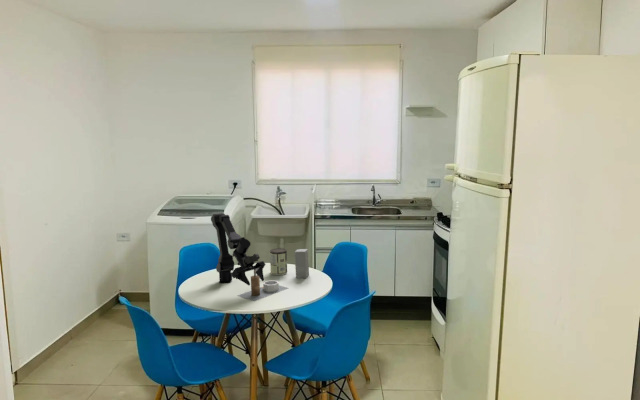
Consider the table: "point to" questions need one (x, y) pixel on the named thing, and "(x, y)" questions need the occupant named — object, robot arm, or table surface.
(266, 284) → the tool board
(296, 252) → the skincare box
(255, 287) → the brown tall cylinder
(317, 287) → the table surface
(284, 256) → the coffee can
